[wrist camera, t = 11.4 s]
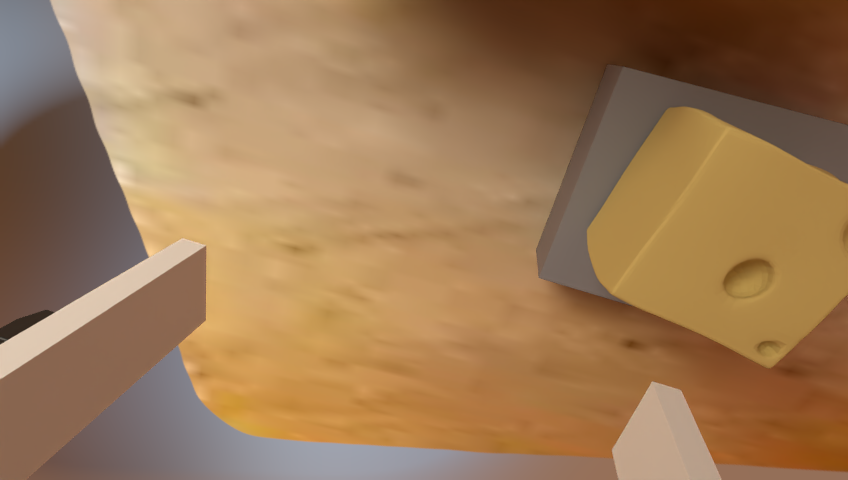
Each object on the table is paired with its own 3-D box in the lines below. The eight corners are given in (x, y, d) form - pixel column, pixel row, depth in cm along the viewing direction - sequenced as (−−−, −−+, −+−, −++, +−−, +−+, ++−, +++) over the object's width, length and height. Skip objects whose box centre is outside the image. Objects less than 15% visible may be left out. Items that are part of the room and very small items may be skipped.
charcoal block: (606, 63, 34) (623, 66, 29) (822, 120, 33) (881, 133, 28) (535, 247, 41) (538, 277, 36) (713, 300, 40) (744, 339, 34)
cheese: (810, 164, 29) (944, 218, 20) (701, 293, 34) (769, 384, 24) (663, 95, 29) (730, 116, 20) (574, 233, 34) (596, 302, 25)
